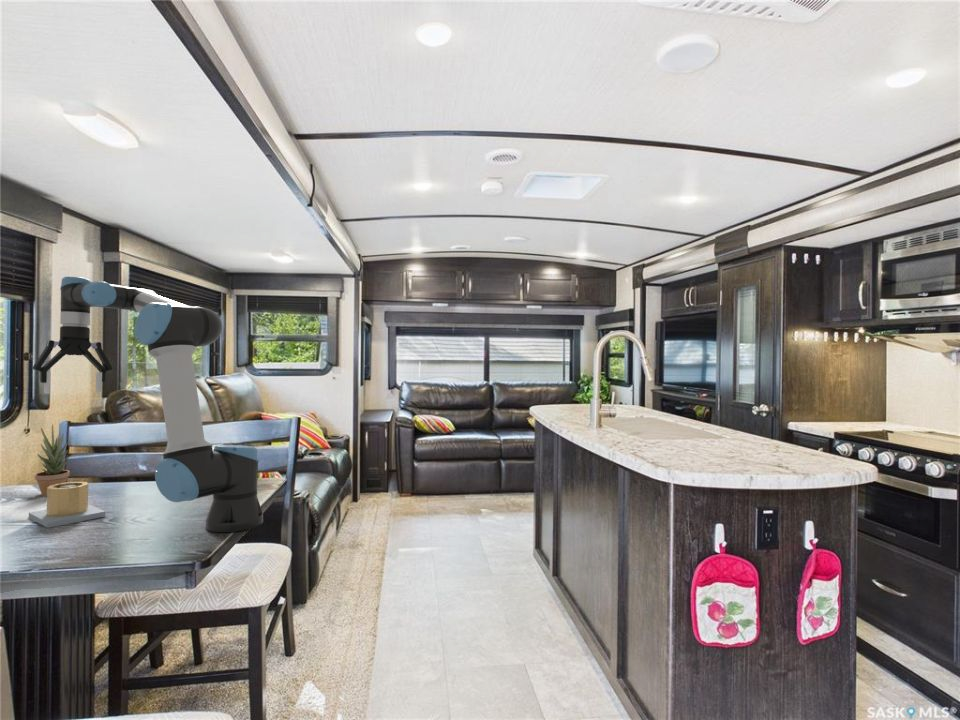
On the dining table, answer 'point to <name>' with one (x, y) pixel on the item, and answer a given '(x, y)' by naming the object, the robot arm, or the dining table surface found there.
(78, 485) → the bronze sleeve
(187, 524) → the dining table surface
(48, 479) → the potted plant
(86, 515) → the block
